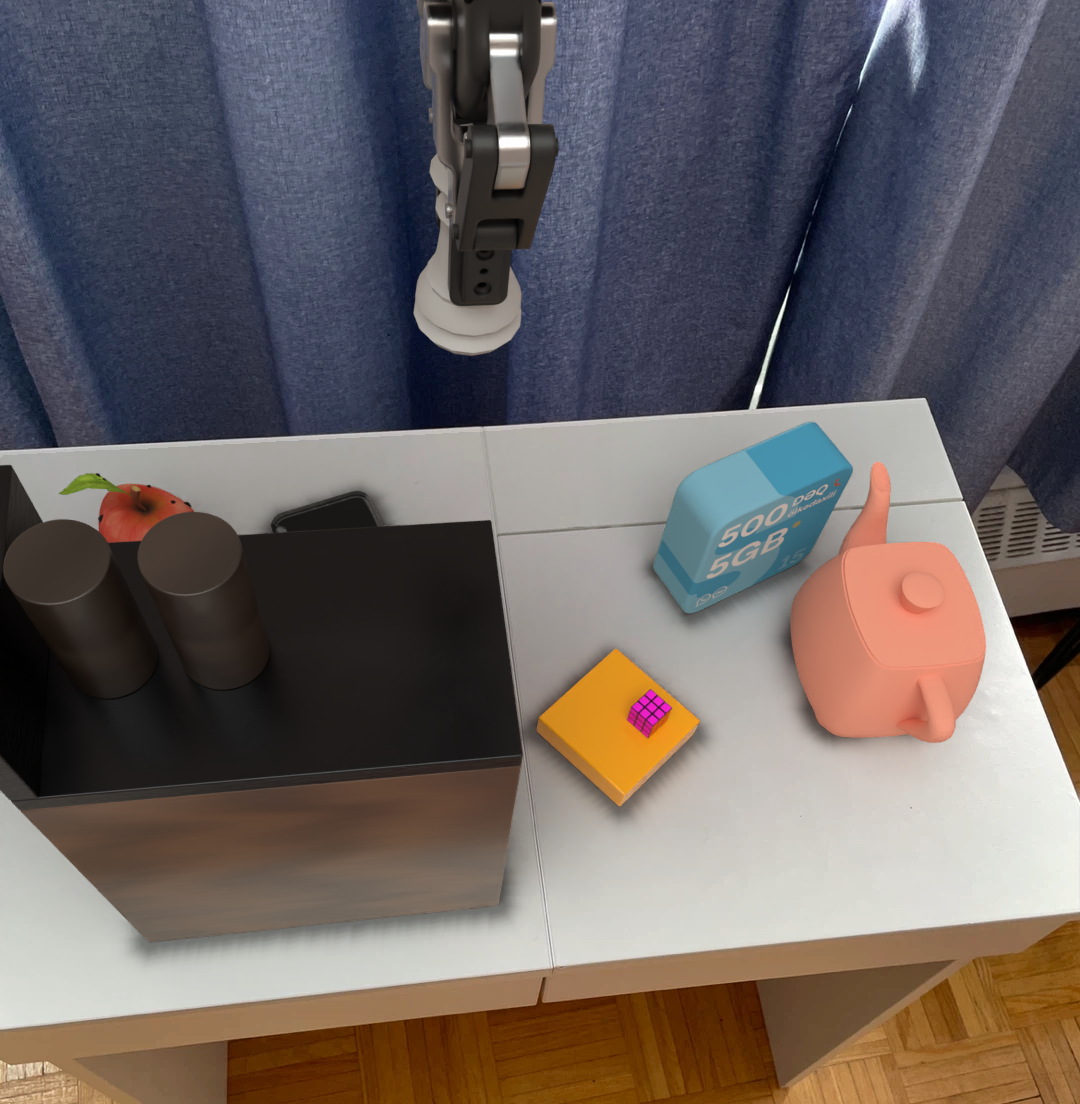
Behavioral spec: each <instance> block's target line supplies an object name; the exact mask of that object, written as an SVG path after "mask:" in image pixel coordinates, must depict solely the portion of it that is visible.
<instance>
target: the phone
mask: <svg viewBox="0 0 1080 1104" xmlns="http://www.w3.org/2000/svg"><path fill="white" fill-rule="evenodd" d="M270 523H271V524H270V526H271V531H272V532H271V533H279V532H296V531H313V530H329V529H346V528H363V527H380V526H385V525H384V524H383V521H382V518H381V516H380V514H379V512H378V510H377V508H376V505H375V504H374V501H373V500H372V498H371V496H370V495H369V494H367V493H366V492H364V491H362V490H352V491H349V492H345V493H341V494H339V495H336V496H333V497H329V498H326V499H322V500H319V501H315V502H312V503H309V504H305V505H301V506H299V507H295V508H292V509H289V510H285V511H281V512H280V513H277V514H276V515H275V516H274V517H273V518H272V520H271V522H270Z"/></svg>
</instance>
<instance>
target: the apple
mask: <svg viewBox="0 0 1080 1104" xmlns="http://www.w3.org/2000/svg"><path fill="white" fill-rule="evenodd" d="M88 489H90V490H106V491H108V492H106V493H105V495H104V497H103V498H102V501H101V503H100V507H99V512H98V518H97V520H98V531H99V532H100V533H101V534H102V535H103V536H104V538H105V539H106V541H107V542H108V543H111V542H128V541H142V539H143V537H144V536H145V534H146V533H147V532H148V531H149V530H150V529H151V528H152V527H153V526H154V525H155V524H157V523H158V522H159V521H161V520H163V519H165V518H167V517H169V516H172V515H175V514H179V513H183V512H196V511H195V510H194V509H193V508H192V504H191V503H190V502H188V501H184V500H182V499H181V498H180V497H178V496H177V495H176V494H173V493H172V492H169V491H167V490H165V489H162V488H160V487H157V486H153V485H151V484H141V483H122V484H118V485H116V484H114V483H113V482H111V481H110V480H108V479H106V478H105V477H103V476H102V475H101V474H100V473H98V472H95V473H92V472H90V473H89V472H87V473H84V474H79V475H78V476H76V477H75V478H74V479H73V480H72V481H71V482H70V483H69V484H68V485H67V486H66V487H65V488H64V489H63V490H61V491H59V492H58V493H57V494H58V495H62V496H68V495H71V494H74V493H75V494H76V493H78V492H80V491H84V490H88Z"/></svg>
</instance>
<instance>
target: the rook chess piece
mask: <svg viewBox="0 0 1080 1104" xmlns="http://www.w3.org/2000/svg"><path fill="white" fill-rule="evenodd" d="M469 125H473V123H471V124H464V125H460V126H469ZM429 166H430V167H429V174H430V177H431V179H432V181H433V183H434V186H435V188H436V187H437V188H438V189H439V190H440V191H441V193H440V194H439V196H438V197H437V200H436V199H435V209H436V211H437V213H438V216H439V218H440V219H441V225H440V229H439V235H438V240H437V245H436V249H435V252H434V254H433V255H432V256H431V258H430V259H429V260H428V261H427V264H426V266H425V268H424V269H423V270H422V271H421V272H420V274H419V276H418V279H417V280H416V281H417V282H416V287H415V288H416V289H415V295H414V297H415V299H414V300H415V301H414V306H413V307H414V308H413V316H414V318H415V321H416V323H417V326H418V329H419V330H420V331H421V332H422V333H423V334H424V335H425V336H426V337H428V338H429V340H430V341H432V342H433V343H434V345H436V346H437V347H439V348H441V349H443V350H445V351H448V352H450V353H452V354H455V355H461V356H462V355H463V356H471V357H474V356H478V355H484V354H489V353H491V352H494V351H495V350H497V349H499V348H500V347H502V346H503V345H505V344H507V343H509V341H512V339H513V337H514V336H515V335H516V333H517V332H518V330H519V329H520V327H521V323H522V322H521V319H522V312H523V311H522V309H521V306H522V295H523V294H522V290H521V289H522V288H521V286H520V284H519V281H518V279H517V277H516V275H515V272H514V271H513V269H512V266H511V265H510V273H509V284H508V294H507V298H506V299H505V300H504V301H503V302H502V303H500V304H497V305H483V306H457V305H455V304H453V303H452V302H451V300H450V296H449V290H448V253H449V218H446V215H445V202H448V167H446V166H444V165H443V164H442V163H441V162H440V161H439V159H438V155H437V154H436V153H435V155H434V156H433V157H432V159H431V160H430V165H429ZM436 211H435V212H436Z"/></svg>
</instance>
